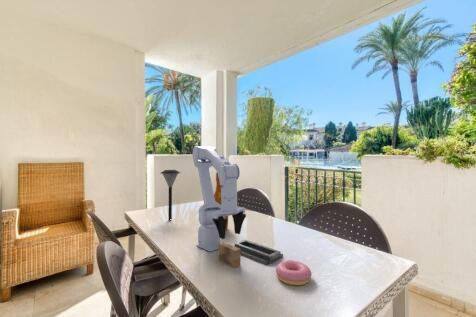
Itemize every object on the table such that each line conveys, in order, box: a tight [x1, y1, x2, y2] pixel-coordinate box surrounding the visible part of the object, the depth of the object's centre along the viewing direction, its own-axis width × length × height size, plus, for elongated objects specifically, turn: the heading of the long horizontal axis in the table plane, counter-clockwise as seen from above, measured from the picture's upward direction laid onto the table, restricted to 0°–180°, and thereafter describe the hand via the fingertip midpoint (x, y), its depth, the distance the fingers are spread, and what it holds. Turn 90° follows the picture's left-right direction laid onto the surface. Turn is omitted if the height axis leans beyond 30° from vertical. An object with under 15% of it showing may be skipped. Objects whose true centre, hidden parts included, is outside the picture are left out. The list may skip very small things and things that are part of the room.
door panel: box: [217, 241, 242, 269], centre depth 83 cm, size 9×2×6 cm, turn 46°
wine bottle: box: [214, 171, 229, 231], centre depth 122 cm, size 10×10×30 cm
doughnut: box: [275, 259, 312, 286], centre depth 73 cm, size 11×11×4 cm
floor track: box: [234, 239, 284, 266], centre depth 91 cm, size 18×10×2 cm, turn 46°
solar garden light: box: [160, 169, 181, 221], centre depth 139 cm, size 12×12×30 cm
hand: (230, 235), depth 83 cm, fingers open, 7 cm apart
